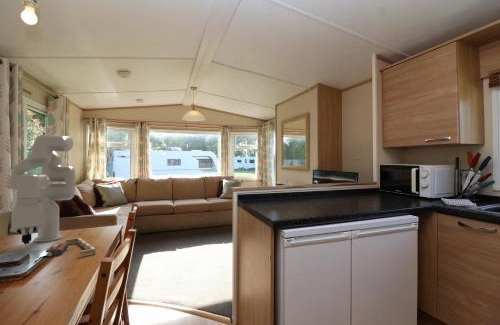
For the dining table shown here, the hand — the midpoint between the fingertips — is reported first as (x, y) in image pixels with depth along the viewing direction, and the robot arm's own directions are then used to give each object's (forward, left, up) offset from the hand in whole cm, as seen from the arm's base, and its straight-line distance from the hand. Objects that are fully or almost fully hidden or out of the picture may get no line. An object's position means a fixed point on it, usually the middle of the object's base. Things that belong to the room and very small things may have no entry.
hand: (26, 243), depth 109 cm
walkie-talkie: (-1, +9, -8) cm, 13 cm away
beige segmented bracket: (-1, +20, -8) cm, 22 cm away
